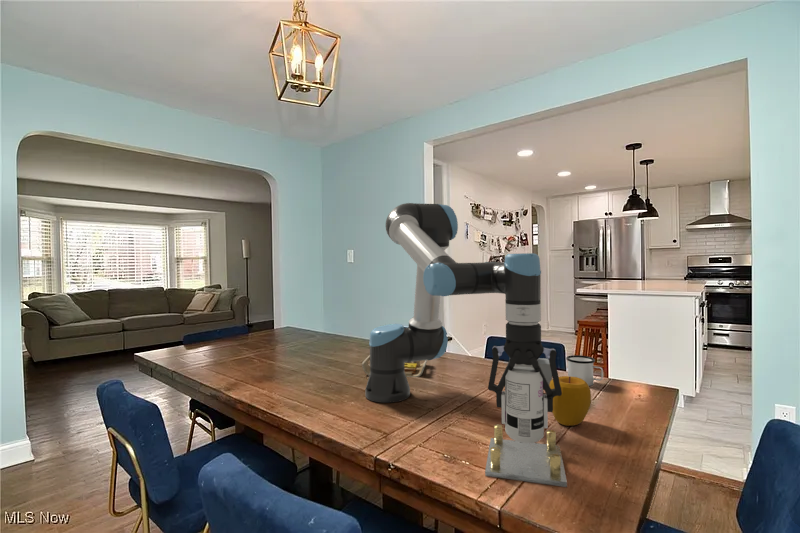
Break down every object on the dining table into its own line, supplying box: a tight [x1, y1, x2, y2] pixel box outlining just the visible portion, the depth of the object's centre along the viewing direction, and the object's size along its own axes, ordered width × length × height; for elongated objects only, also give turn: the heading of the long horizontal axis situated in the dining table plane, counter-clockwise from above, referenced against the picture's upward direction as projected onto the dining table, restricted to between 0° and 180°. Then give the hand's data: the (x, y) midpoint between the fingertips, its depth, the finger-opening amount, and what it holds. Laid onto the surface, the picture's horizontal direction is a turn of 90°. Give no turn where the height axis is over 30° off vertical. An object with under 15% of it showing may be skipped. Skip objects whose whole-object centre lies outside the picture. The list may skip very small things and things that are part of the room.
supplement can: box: [504, 365, 545, 443], centre depth 89 cm, size 8×8×15 cm
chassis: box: [484, 424, 568, 488], centre depth 89 cm, size 16×16×5 cm
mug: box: [565, 354, 604, 387], centre depth 143 cm, size 12×9×9 cm
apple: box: [549, 375, 592, 427], centre depth 109 cm, size 11×11×13 cm
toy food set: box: [361, 354, 428, 378], centre depth 165 cm, size 25×18×8 cm
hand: (524, 423), depth 89 cm, fingers closed on supplement can, 8 cm apart
